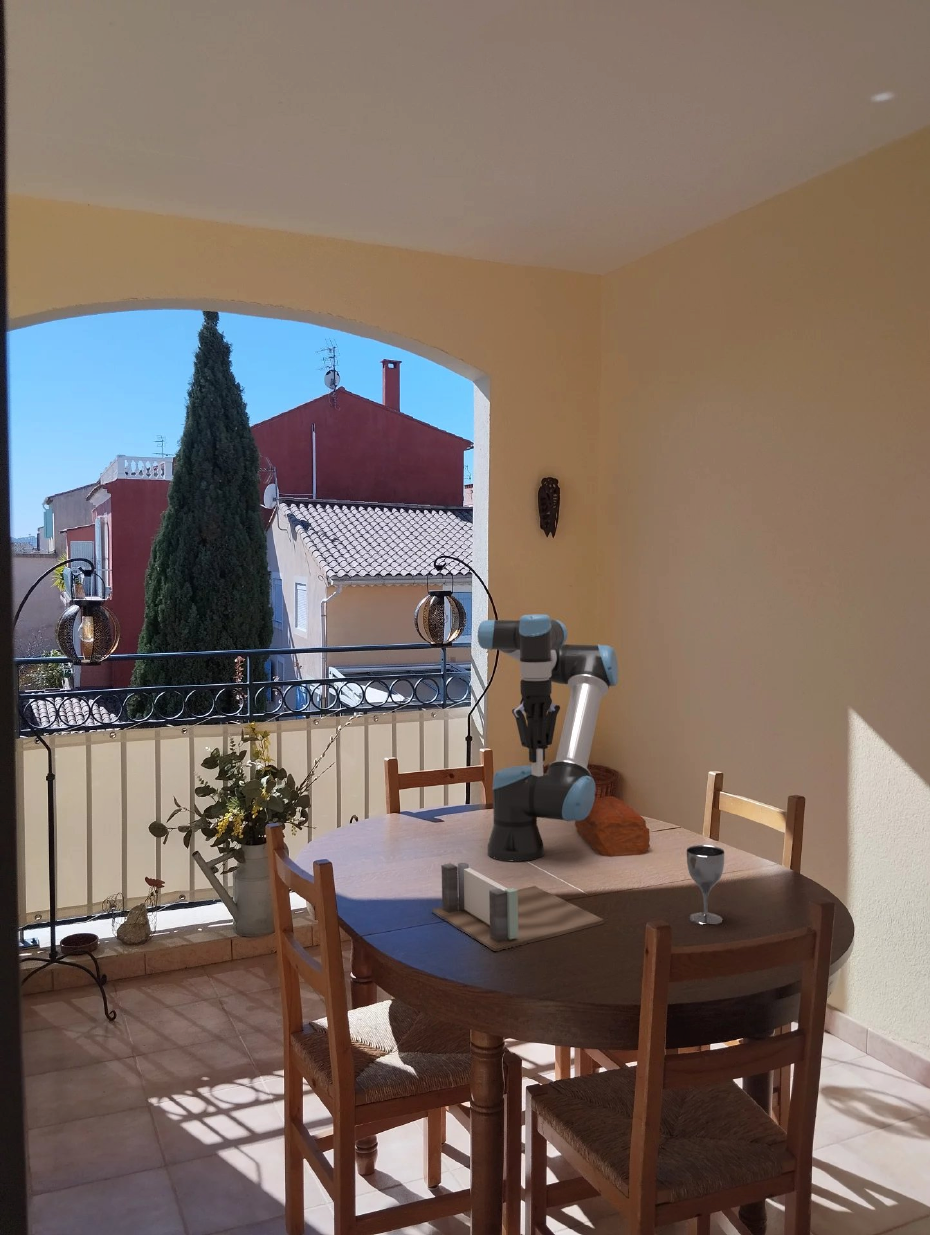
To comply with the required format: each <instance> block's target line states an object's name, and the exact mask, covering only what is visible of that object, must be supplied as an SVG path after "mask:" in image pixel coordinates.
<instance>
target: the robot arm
mask: <svg viewBox="0 0 930 1235" xmlns="http://www.w3.org/2000/svg"><path fill="white" fill-rule="evenodd" d="M567 640H568V630H567V627H566V625H565V624H564V623H563V622H561V621H560V620H558V619H551V616H549V615H548V614H537V613H536V614H525V615H521V616H520V618H519V620H516V619H514V620H513V619H512V620H510V619H509V620H508V619H505V620H504V619H500V620H499V619H490V620H489V619H488V620H482V621H481V622H480V623H479V626H478V629H477V642H478V645H479V646H480V648H481V649H483V650H490V651H492V650H497V651H499V652H502V653H504V655H507V656H509V657H511V658H512V659H514V660H516V661H517V662H519V665H520V666H519V668H520V670H519V671H520V672H519V674H520V678H522V679H521V680H520V682H519V684H520V685H519V686H520V687H519V688H520V695H521V700H520V703H519V706H518V707H516V708H513V709H512V710H511V712H512V713H511V714H513V716H514V718H515V721H516V726H517V730H518V734H519V739H520V745H521V746H522V747H524V748H527V749H528V762H529V763H531V764H530V765H529V764H527V765H526V764H525V765H524V764H523V765H514V766H508V767H504V768H501V769H498V770H497V771H495V773H494V774H493V776H492V777H493V778H492V787H491V788H492V806H493V807H492V810H493V811H492V812H493V826H492V830H491V833H490V837H489V841H488V842H487V855H488V854H489V855H490V856H491V857H490V856H489V855H488V856H489V857H490V858H492V857H495V858H497V859H496V860H498V859H501V860H500V861H503V860H513V861H512V862H522V861H521V860H528V861H533V860H536V859H539V858H541V857H543V855H544V854H545V844H544V842H543V839H542V835H541V832H540V829H539V826H538V818H540V819H550V820H560V821H566V822H572V821H573V822H575V821H581V820H583V819H585V818H586V817H587V816H588V815H589V813H590V811H591V809H592V806H593V803H594V799H595V797H596V795H595V793H596V782H595V780H594V778H593V777H592V774H591V772H590V770H589V769H588V763H589V760H590V756H591V755H590V753H591V750H592V745H593V740H594V736H595V730H596V726H597V720H598V715H599V710H600V705H601V701H602V698H603V697H606V695H607V694H608V692H609V689H610V687H611V688H612V687H616V686H617V684H618V681H619V680H618V679H619V668H618V667H619V666H618V658H617V655H616V651H615V649H614V648H613V647H612V646H610V645H605V644H599V643H598V644H567V643H566V641H567ZM552 683H555V684H558V685H559V684H561V685H567V687H568V688H569V690H570V691H571V692H570V695H569V696H570V697H569V700H568V704H567V709H566V712H565V718H564V722H563V727H562V730H561V735H560V740H559V743H558V748H557V752H556V757H555V760H554V761H551V762H550V763H549V765H548V767H547V770H546V773H544V762H545V760H546V750H547V749H548V747H549V746H551V745H552V744H553V739H554V733H555V729H556V723H557V717H558V716H557V715H558V714H559V712H560V710H561V706H560V705H558V704H555V703H554V702H553V700H552V696H551V695H552V693H553V692H552V688H553V686H552Z"/></svg>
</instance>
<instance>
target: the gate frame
mask: <svg viewBox="0 0 930 1235" xmlns="http://www.w3.org/2000/svg"><path fill="white" fill-rule="evenodd" d="M440 867H441V898H442V899H441V905H442V906H441V907H437V908H433V909H431V912H432V911H434V912H435V913H437V915H439V916H441V917H442V918H444V919H445V920H447V921H448V922H450V923H451V924H453V925H455V926H456V927H457V928H459V929H461V930H462V931H463V932H465V933H467V934H469V935H470V936H472V937H473V938H475V939H476V940H478V941H479V942H481V943H483V944H484V945H486V946H487V947H489V948H490V949H492V950H493V951H498V952H500V951H499V950H502V949H506V950H509V949H508V948H510V949H512V948H511V947H513V948H517V947H520V946H519V945H521V946H524V945H528V944H527V943H529V944H531V943H535V942H539V941H544V940H547V939H551V938H554V937H557V936H561V935H566V934H569V933H573V932H577V931H580V930H581V931H582V930H585V929H588V928H592V927H596V926H599V925H603V924H605V919H603V918H601V917H599V916H597V915H595V914H593V913H591V912H589V911H588V910H586V909H583V908H581V907H579V906H577V905H574V904H573V903H571V902H568V901H567V900H564V899H562V898H560V897H558V896H557V895H554V894H552V893H550V892H548V891H546V890H544V889H542V888H539V887H538V886H535V885H534V886H528V887H525V888H521V889H517V890H518V938H514V939H509V938H508V920H507V892H505V891H503V890H501V889H500V888H498V889H494V890H489V905H490V925H489V924H487V923H486V922H484V921H483V920H481V919H479V918H478V917H476V916H475V915H473V914H471V913H470V912H468V911H467V910H465V911H462V910H459V895H458V865H455V864H453V863H451V862H450V863H445V864H441V866H440ZM457 928H456V929H457ZM463 932H462V933H463ZM465 933H464V934H465ZM476 940H475V941H476ZM479 942H478V943H479ZM484 945H483V946H484ZM516 946H517V947H516ZM487 947H486V948H487ZM490 949H489V950H490ZM493 951H492V952H493ZM502 951H503V950H502Z"/></svg>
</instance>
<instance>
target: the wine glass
mask: <svg viewBox="0 0 930 1235" xmlns="http://www.w3.org/2000/svg"><path fill="white" fill-rule="evenodd" d="M686 864H687V869H688V873H689V876H690V878H691V879H692V880H693V882H694V883H695V884H696V885H697V886H698V888H699V889H700V890H701V891H700V892H701V893H702V900H703V912H694V913H692V914H689V916H690V917H688V919H689V918H690V919H689V920H690V921H691V922H693V923H694V924H697V925H699V924H700V925H703V924H715V925H719V924H721V923H723V921H722V920H723V918H722V916H721V915H718V914H716V913H712V912H709V911H708V902H709V894H710V891H711V890H712V889H713V887H714V886H715V885H716V884H717V883H718V882H719V881H720V880H721V878H722V876H723V873H724V868H725V851H724V849H722V848H720V847H717V846H714V845H707V844H704V845H703V844H700V845H693V846H692V845H691V846H689V847H687V848H686Z"/></svg>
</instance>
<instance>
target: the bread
mask: <svg viewBox="0 0 930 1235" xmlns="http://www.w3.org/2000/svg"><path fill="white" fill-rule="evenodd" d="M574 826H575V828H576V831H577V833H578V834H579V835H580V836H581V837H582V838H583V839H584V840H585V841H586V842H587V843H588V845H590V846H591V847H592V848H593V850H594V851H595V852H597V853H598V854H599V855H601V856H603V857H623V856H625V857H626V856H639V855H643V854H646V853H647V851H648V850H649V848H650V841H651V838H650V837H651V836H650V829H649V828H648V826H647V823H646V819H644V817H643V816H641V814H640V813H638V812H636V811H635V810H634V809H633V808H632V807H631V806H629V805H628V804H626V803H625V802H624V801H623V800H621V799H619V798H617V797H615V796H612V795H611V796H610V795H608V796H607V795H606V796H602V797H599V796H595V799H594V803H593V806H592V809H591V811H590V813H589V815H588V816H587V817H586V818H585V819H583V820H581V821H574Z"/></svg>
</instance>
